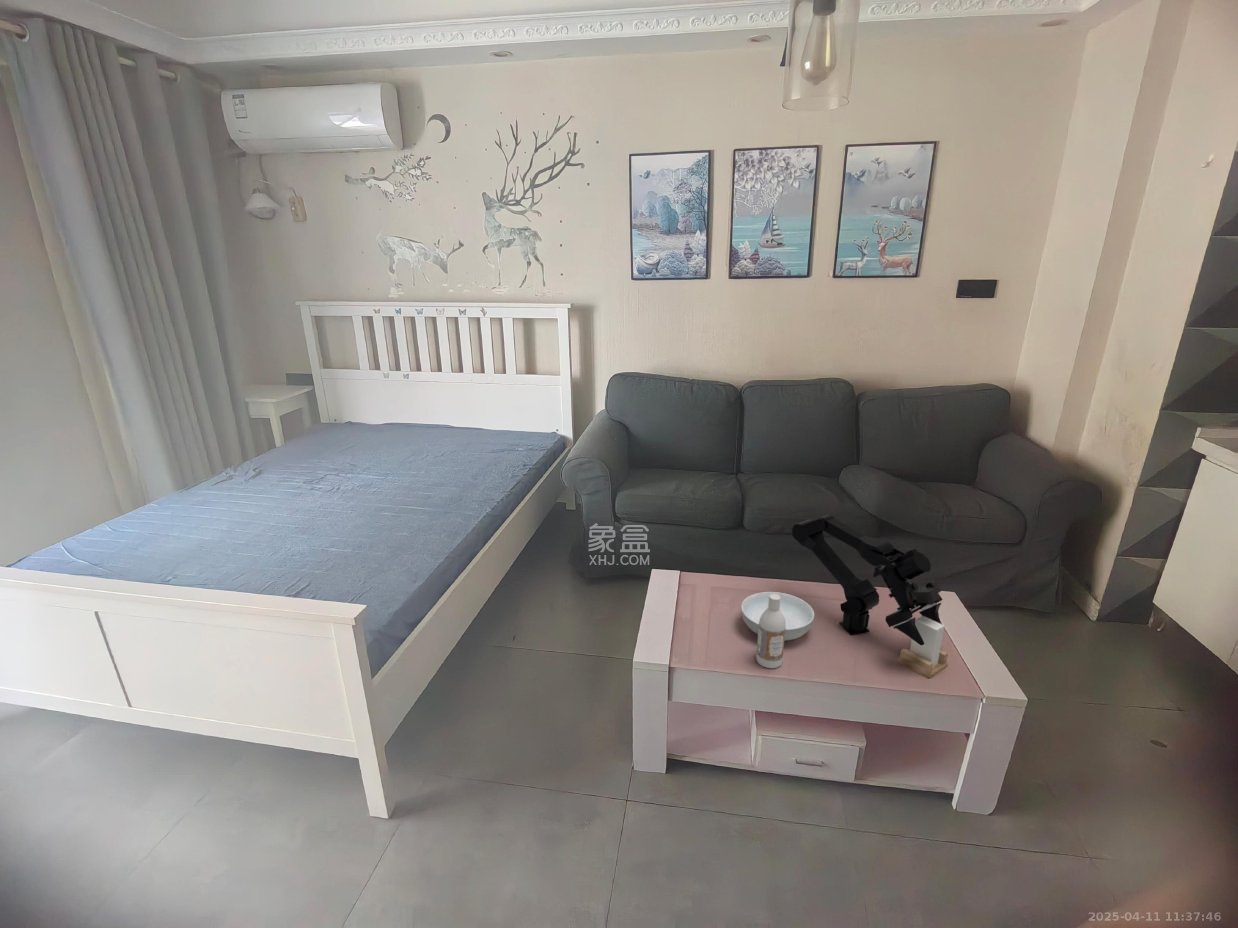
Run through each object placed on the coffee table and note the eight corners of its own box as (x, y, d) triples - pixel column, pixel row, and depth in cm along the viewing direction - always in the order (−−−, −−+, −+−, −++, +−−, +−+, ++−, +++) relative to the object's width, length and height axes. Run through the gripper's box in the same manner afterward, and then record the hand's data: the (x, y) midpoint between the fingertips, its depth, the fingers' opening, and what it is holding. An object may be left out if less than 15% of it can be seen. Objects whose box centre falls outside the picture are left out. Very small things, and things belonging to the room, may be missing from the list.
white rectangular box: (908, 658, 167) (915, 619, 164) (916, 653, 169) (922, 615, 166) (929, 669, 163) (937, 630, 159) (937, 664, 165) (944, 625, 161)
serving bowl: (740, 607, 194) (741, 588, 192) (809, 614, 190) (811, 595, 188) (739, 645, 175) (740, 624, 173) (815, 654, 171) (817, 632, 169)
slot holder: (897, 661, 167) (899, 649, 166) (915, 649, 172) (917, 638, 171) (929, 678, 160) (931, 666, 159) (947, 665, 165) (949, 653, 164)
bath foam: (763, 670, 163) (768, 604, 157) (751, 655, 170) (756, 591, 164) (786, 667, 165) (793, 601, 159) (774, 652, 171) (780, 588, 165)
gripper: (902, 584, 157) (938, 642, 151) (940, 565, 167) (975, 618, 162) (871, 598, 165) (903, 654, 160) (909, 579, 175) (941, 630, 170)
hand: (932, 638), depth 163 cm, fingers open, 9 cm apart
